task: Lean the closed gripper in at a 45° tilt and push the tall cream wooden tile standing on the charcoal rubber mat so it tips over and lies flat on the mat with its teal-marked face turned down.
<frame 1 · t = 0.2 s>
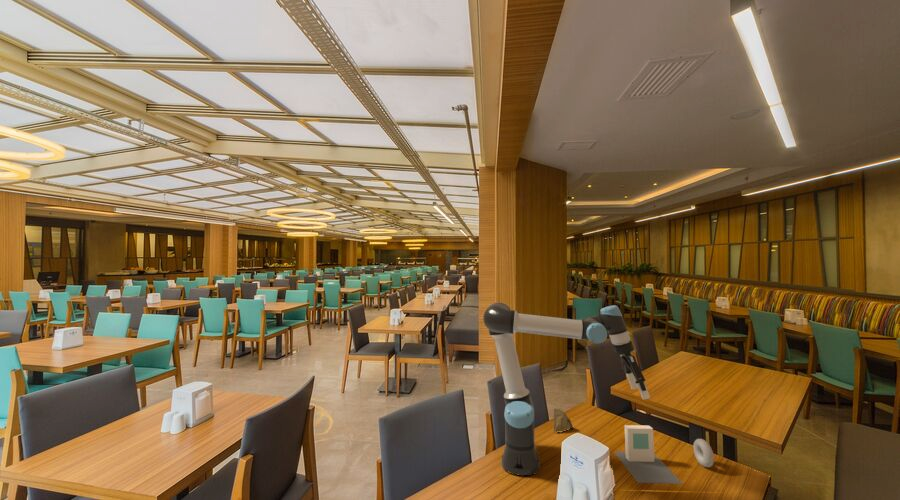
hand: (640, 393, 145), 27 cm above the table, tool tilted 15°, fingers open, 13 cm apart
donut: (704, 466, 141), on the table
tile: (639, 459, 145), point 1 cm above the table, touching mat
mat: (645, 467, 140), on the table
rock: (563, 430, 173), on the table
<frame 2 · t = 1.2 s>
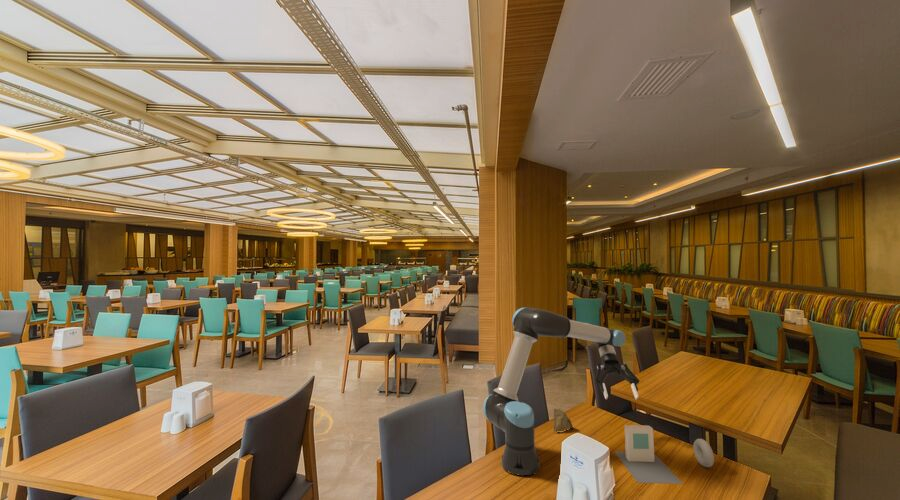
hand: (621, 398, 162), 19 cm above the table, tool tilted 45°, fingers open, 13 cm apart
nothing on the table moved.
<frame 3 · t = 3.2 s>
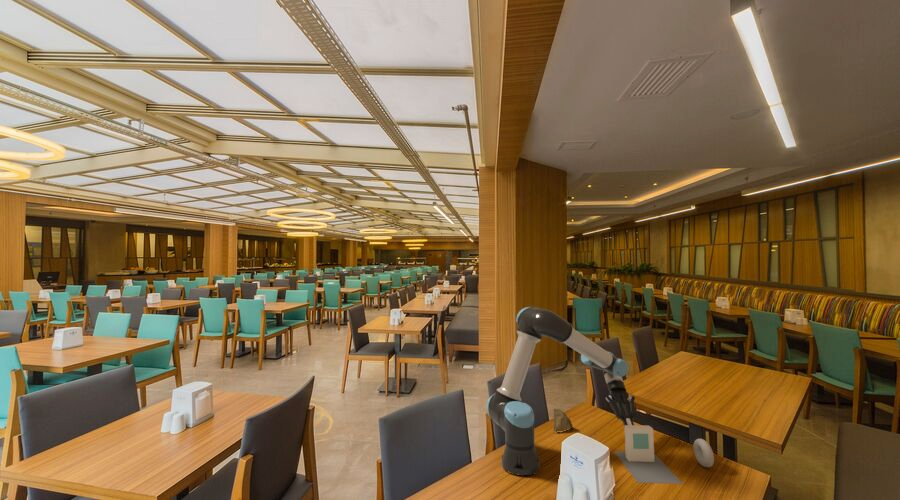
hand: (632, 435, 152), 7 cm above the table, tool tilted 45°, fingers closed
nothing on the table moved.
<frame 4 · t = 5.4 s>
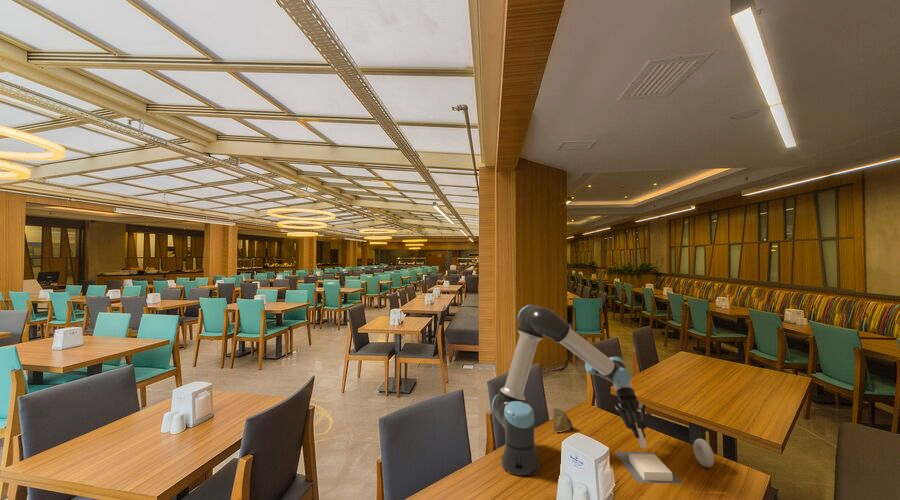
hand: (643, 446, 143), 7 cm above the table, tool tilted 45°, fingers closed
tile: (641, 457, 143), point 2 cm above the table, tilted 90°, touching mat
everything else where it was.
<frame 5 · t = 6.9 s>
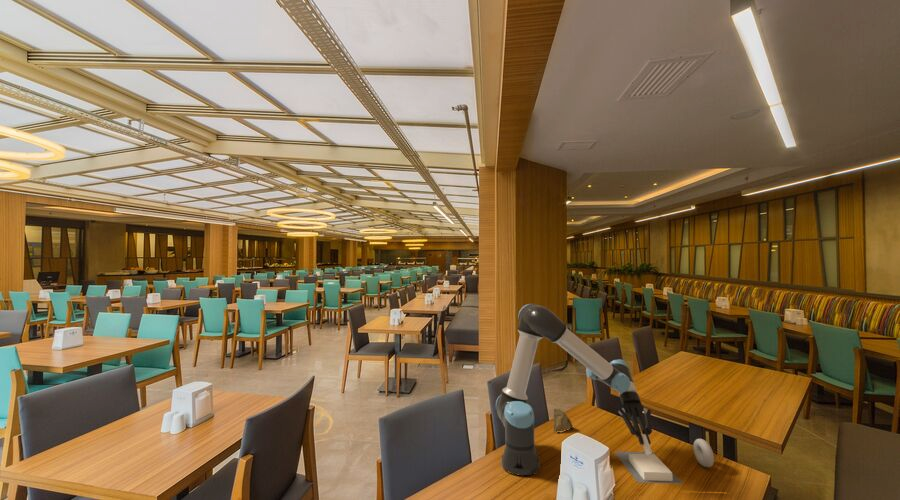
hand: (648, 453, 137), 7 cm above the table, tool tilted 45°, fingers closed
nothing on the table moved.
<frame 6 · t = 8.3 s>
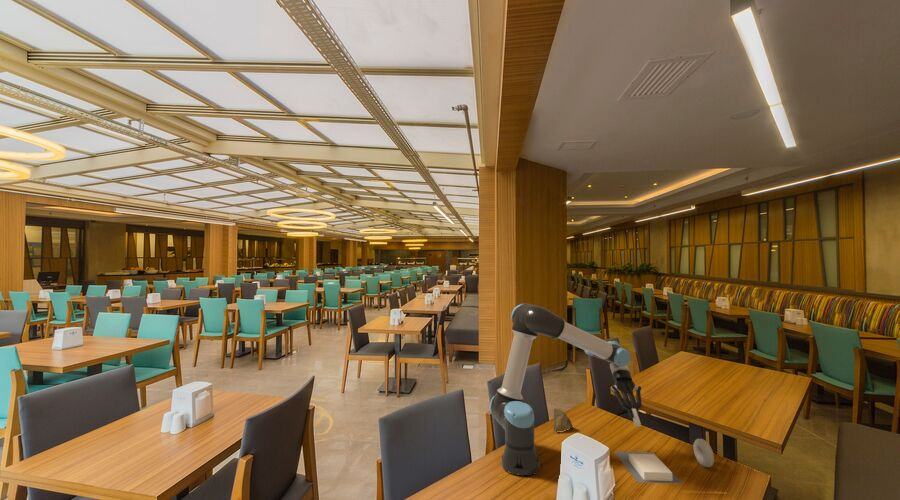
hand: (638, 425, 147), 14 cm above the table, tool tilted 45°, fingers closed
nothing on the table moved.
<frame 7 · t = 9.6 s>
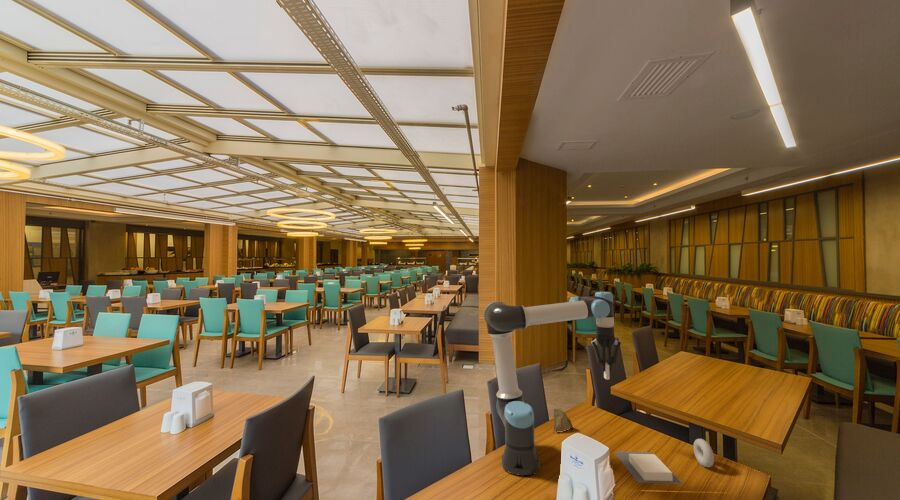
hand: (606, 378, 160), 29 cm above the table, tool pointing down, fingers closed
nothing on the table moved.
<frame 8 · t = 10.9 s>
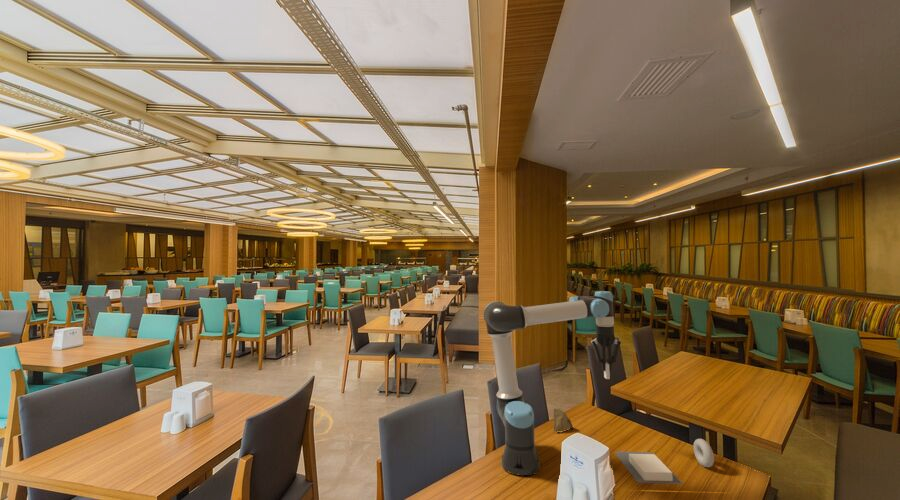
hand: (606, 378, 160), 29 cm above the table, tool pointing down, fingers closed
nothing on the table moved.
at the end: tile tilted 90°; tile touching mat; tile 3.3 cm from the mat (horizontally) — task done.
